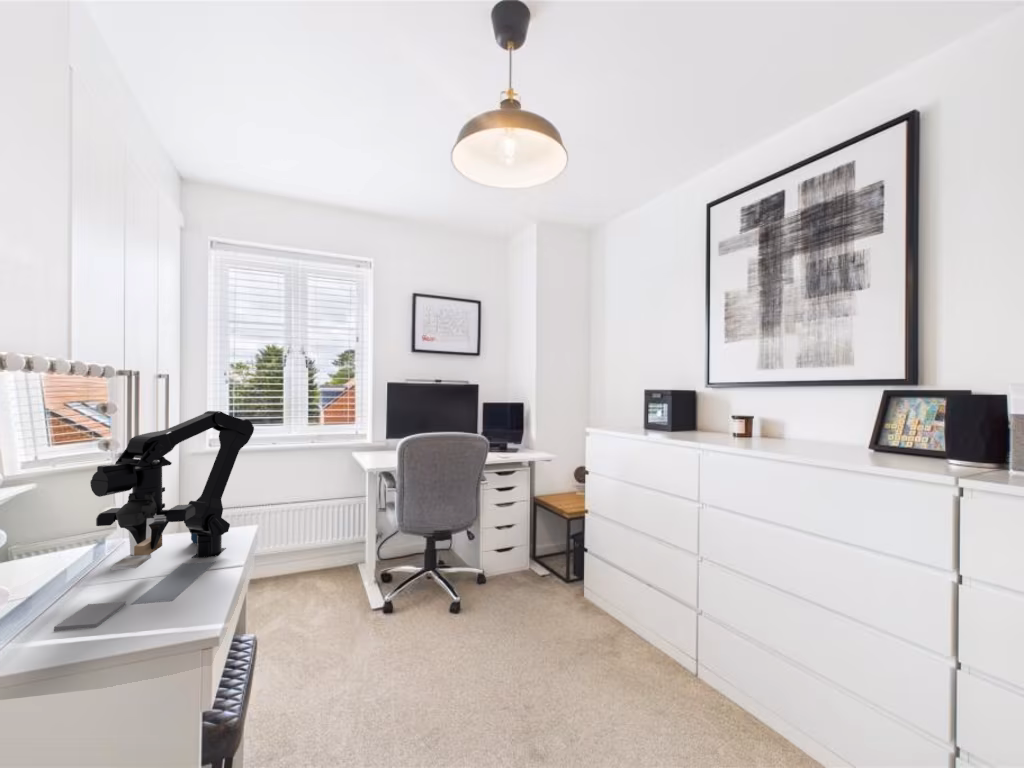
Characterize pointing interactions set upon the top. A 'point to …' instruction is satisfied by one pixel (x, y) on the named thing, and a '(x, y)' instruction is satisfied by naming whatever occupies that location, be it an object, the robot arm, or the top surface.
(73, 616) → the tile
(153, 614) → the top surface
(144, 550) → the turner
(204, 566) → the mat
